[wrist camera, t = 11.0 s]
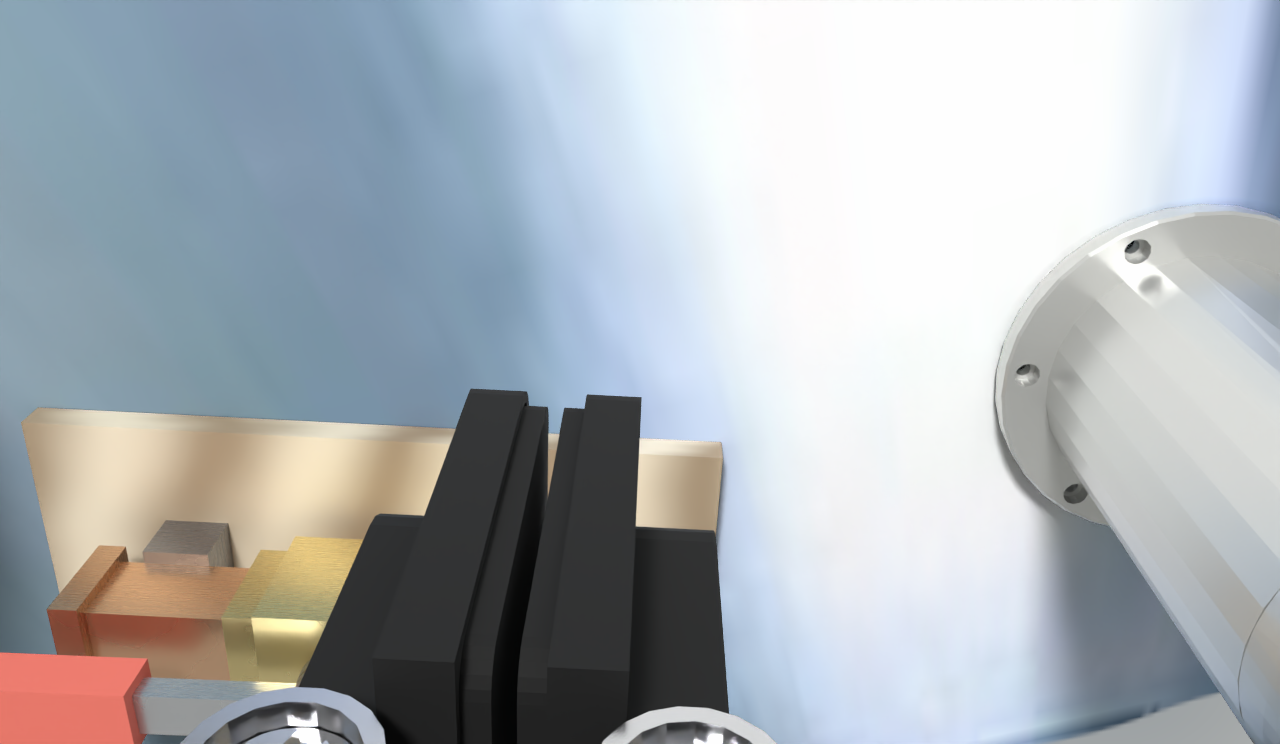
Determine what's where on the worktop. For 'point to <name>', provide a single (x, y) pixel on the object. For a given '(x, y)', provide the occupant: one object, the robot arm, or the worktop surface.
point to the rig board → (280, 479)
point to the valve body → (204, 605)
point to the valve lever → (106, 699)
